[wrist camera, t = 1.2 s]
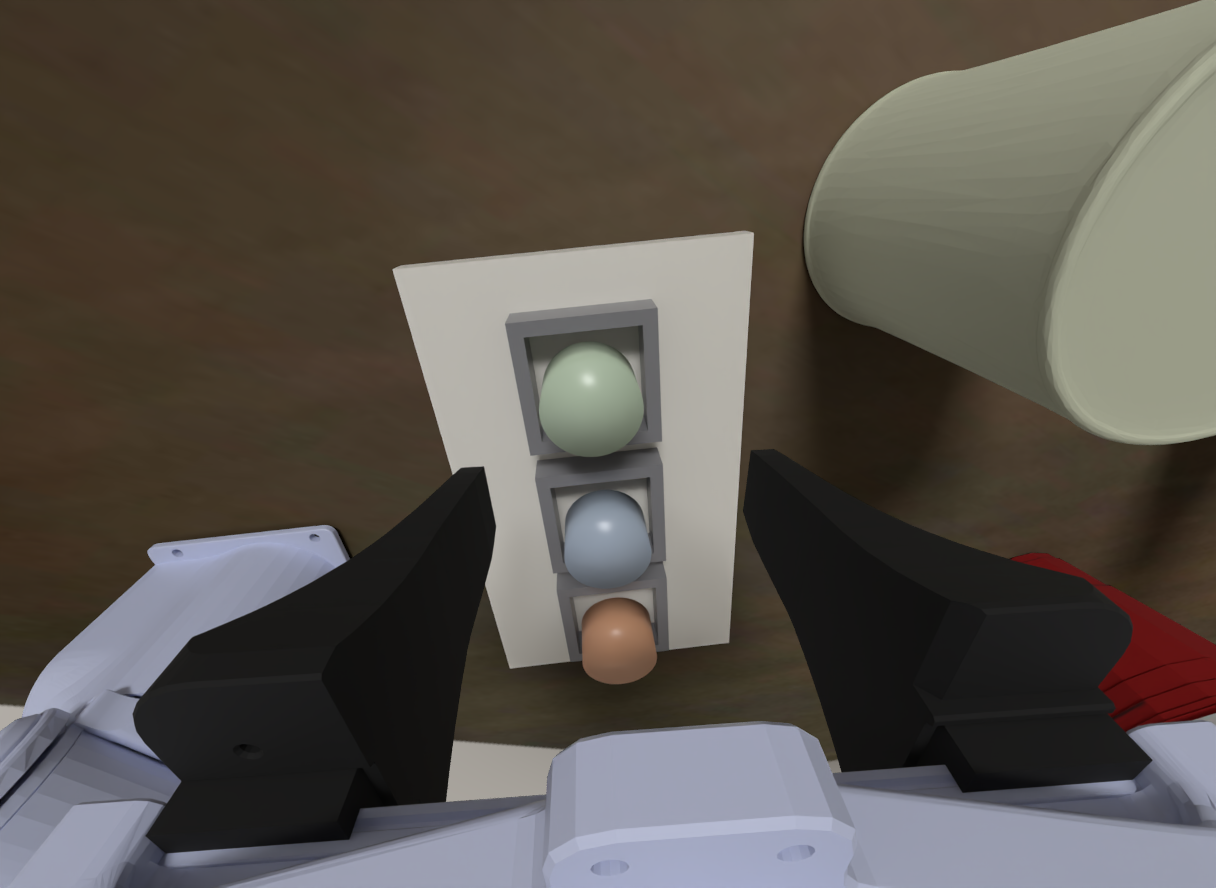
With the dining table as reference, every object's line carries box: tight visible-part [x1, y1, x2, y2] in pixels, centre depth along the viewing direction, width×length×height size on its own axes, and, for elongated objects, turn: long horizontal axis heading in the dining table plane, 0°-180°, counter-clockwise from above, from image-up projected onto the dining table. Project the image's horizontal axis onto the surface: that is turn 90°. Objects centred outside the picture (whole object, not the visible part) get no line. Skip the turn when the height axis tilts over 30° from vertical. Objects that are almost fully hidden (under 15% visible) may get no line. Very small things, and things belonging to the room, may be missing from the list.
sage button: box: [539, 341, 644, 457], centre depth 18 cm, size 4×4×2 cm
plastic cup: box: [1010, 553, 1216, 732], centre depth 25 cm, size 11×11×12 cm
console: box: [393, 231, 754, 668], centre depth 24 cm, size 14×24×3 cm, turn 5°
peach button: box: [582, 597, 657, 684], centre depth 25 cm, size 4×4×2 cm
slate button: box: [564, 490, 652, 589], centre depth 21 cm, size 4×4×2 cm
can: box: [804, 0, 1216, 445], centre depth 14 cm, size 9×9×12 cm
